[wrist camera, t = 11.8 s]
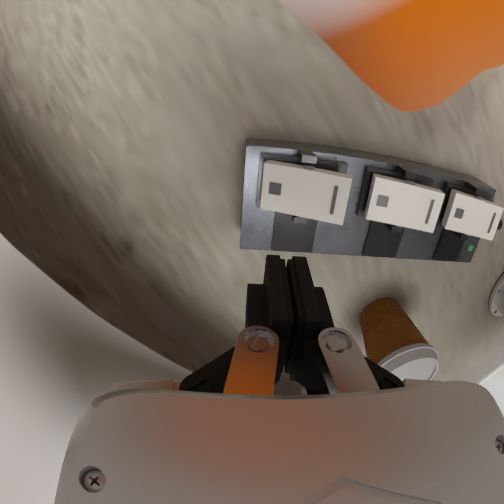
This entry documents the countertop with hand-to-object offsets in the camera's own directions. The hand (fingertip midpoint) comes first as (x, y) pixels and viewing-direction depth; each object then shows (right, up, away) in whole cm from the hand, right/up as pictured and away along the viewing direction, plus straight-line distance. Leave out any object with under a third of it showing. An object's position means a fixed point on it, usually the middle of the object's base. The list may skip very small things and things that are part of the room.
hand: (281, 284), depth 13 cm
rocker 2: (+12, +6, +11) cm, 18 cm away
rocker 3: (+22, +5, +12) cm, 25 cm away
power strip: (+15, +7, +18) cm, 24 cm away
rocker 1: (+3, +6, +11) cm, 13 cm away
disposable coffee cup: (+17, -7, +27) cm, 33 cm away
